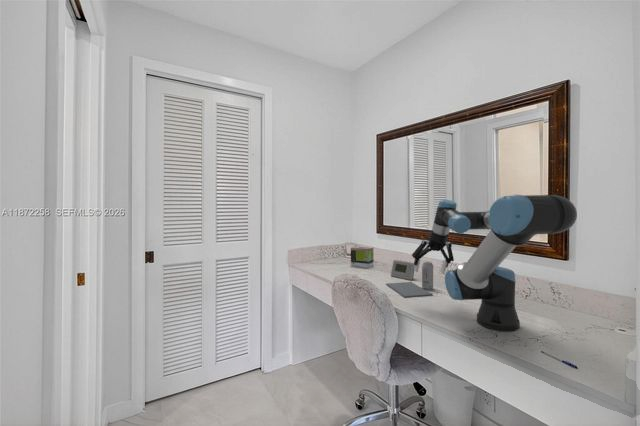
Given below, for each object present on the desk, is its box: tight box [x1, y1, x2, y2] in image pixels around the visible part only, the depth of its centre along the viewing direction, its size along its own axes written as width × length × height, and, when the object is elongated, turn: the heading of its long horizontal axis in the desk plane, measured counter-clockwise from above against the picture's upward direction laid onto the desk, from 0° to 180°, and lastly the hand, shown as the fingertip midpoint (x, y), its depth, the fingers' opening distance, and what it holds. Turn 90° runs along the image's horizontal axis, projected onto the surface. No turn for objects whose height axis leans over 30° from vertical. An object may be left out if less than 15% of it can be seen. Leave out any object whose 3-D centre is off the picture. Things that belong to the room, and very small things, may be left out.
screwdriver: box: [541, 350, 578, 370], centre depth 94 cm, size 10×1×1 cm, turn 20°
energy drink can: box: [421, 261, 434, 291], centre depth 170 cm, size 6×6×15 cm
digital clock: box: [390, 259, 415, 281], centre depth 195 cm, size 16×9×11 cm, turn 31°
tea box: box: [350, 245, 375, 269], centre depth 229 cm, size 15×10×15 cm, turn 58°
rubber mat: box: [385, 281, 434, 299], centre depth 169 cm, size 24×16×1 cm, turn 10°
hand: (428, 271), depth 147 cm, fingers open, 13 cm apart
